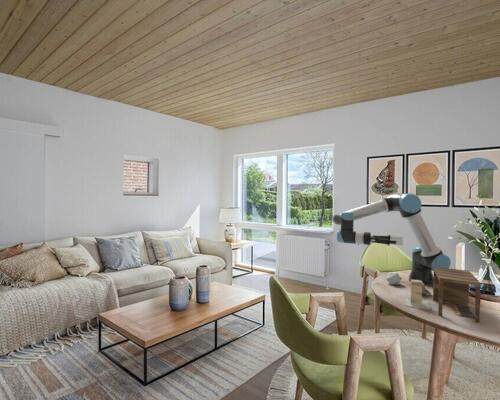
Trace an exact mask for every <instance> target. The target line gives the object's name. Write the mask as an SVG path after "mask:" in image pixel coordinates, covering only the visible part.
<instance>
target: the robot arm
mask: <svg viewBox="0 0 500 400" xmlns="http://www.w3.org/2000/svg"><path fill="white" fill-rule="evenodd" d="M388 212H399V213H400V216H401V217H402V218H404V219H405V220H406V221H407V223H408V226H409V228H410V229H411V233H413V235H414V237H415V239H416V242H417V243H418V246H419V247H413V248H412V252H411V253H412V254H411V257H412V258H411V259H412V260H411V265H412V266H411V271H410V272H409V275H408V280H409V281H410V282H411V280H420V281H422V282H423V283H424V285H433V277H434V273H433V272H434V267H438V268H448V269H450V267H451V259H450V257H449V256H447V255H446V254H444V252H443V250H442V249H441V247H439V246H437V245H436V243H435V240H434V239H433V237H432V234H431V233H430V230H429V228H428V226H427V224H426V223H425V221H424V219H423V217H422V215H421V213H422V201H421V199H420V197H419V195H416V194H414V193H408V192H406V193H393V194H391V195H389V196H386V197H384V198H380V200H379V201H374V202H373V203H369V204H365V205H362V206H360V207H356V208H353V209H349V210H347V211H341V212H337V213H334V214H333V216H332V222H333V223H334V224H335V225H338V226H340V230H337V232H336V240H337V242H338V243H344V244H357V246H359V245H367V246H370V245H371V243H374V244H381V245H387V246H390V245H396V246H404V240H403V239H404V238H403V236H391V234H388V235H376V234H375V235H374V234H373V235H372V234H371V232H368V231H364V232H363V231H358V230H357V231H354V222H355V221H358V220H362V219H364V218H369V217H371V216H374V215H377V214H380V213H388Z"/></svg>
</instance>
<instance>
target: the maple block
mask: <svg viewBox="0 0 500 400" xmlns="http://www.w3.org/2000/svg"><path fill="white" fill-rule="evenodd" d="M409 299H410V302H411V304H412V305H418V306H422V301H423V295H422V281H419V280H411V281H410V298H409Z"/></svg>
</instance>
